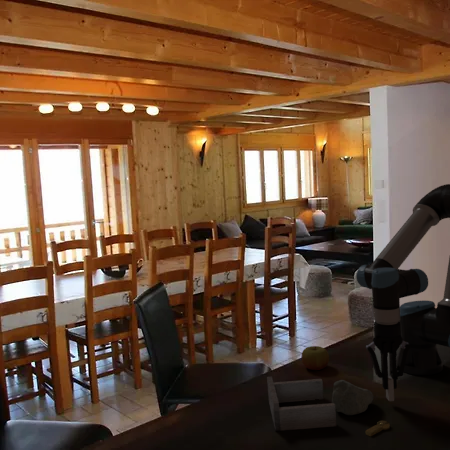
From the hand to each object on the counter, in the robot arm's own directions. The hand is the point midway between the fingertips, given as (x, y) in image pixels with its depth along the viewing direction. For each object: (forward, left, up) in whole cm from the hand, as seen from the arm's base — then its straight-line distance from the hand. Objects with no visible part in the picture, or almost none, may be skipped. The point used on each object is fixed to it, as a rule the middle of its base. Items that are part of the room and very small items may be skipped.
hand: (390, 399), depth 151 cm
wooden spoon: (+8, +13, -2) cm, 16 cm away
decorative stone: (+11, 0, -3) cm, 11 cm away
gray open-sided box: (+27, 0, -2) cm, 27 cm away
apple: (+16, -34, -2) cm, 38 cm away
